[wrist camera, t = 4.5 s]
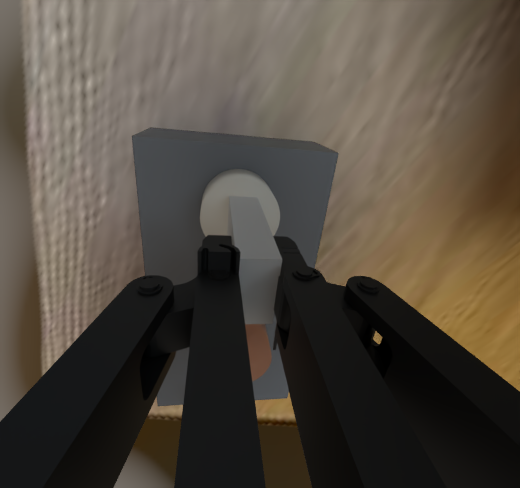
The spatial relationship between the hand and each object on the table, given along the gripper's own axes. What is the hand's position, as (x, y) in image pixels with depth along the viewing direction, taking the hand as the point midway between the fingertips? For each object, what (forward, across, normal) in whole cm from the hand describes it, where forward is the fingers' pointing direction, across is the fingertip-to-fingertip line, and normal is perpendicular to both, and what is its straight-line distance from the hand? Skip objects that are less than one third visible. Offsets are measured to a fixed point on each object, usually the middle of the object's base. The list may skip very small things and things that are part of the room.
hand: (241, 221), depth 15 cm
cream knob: (+8, 0, 0) cm, 8 cm away
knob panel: (+8, 0, -8) cm, 11 cm away
